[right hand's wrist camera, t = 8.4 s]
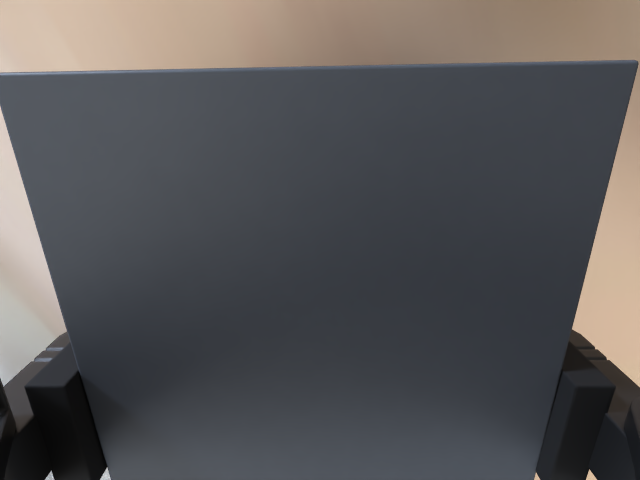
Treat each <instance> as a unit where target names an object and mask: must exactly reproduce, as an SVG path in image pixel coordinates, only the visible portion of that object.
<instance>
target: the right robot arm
mask: <svg viewBox="0 0 640 480" xmlns="http://www.w3.org/2000/svg"><path fill="white" fill-rule="evenodd" d="M106 468H107V464H106V460H105V457H104V454H103V450H102V447H101V443H100V440H99V437H98V433H97V430H96V427H95V423H94V420H93V416H92V413H91V410H90V406H89V403H88V400H87V396H86V393H85V390H84V386H83V383H82V379H81V376H80V373H79V369H78V366H77V363H76V359H75V356H74V352H73V349H72V346H71V342H70V339H69V336H68V332H66V333H64V334H62V335H60V336H59V337H58V338H57V339H56V340H55V341H53V342H52V343H51V344H50V345H49V346H48V347H47V348H46V351H42V352H41V353H40V354H39V355H38V356H37V357H36V358H35V359H34V362H30V363H29V364H28V365H27V366H26V367H25V368H24V369H23V370H22V371H20V372H19V373H18V374H17V375H16V376H15V377H14V378H13V379H12V380H11V381H9V382H8V383H7V384H6V385H5V386H4V387H3V385H2V382H1V379H0V480H45V478H46V477H47V476H48V474H49V473H50V471H51V470H52V473H53V476H54V479H55V480H100V478H101V477H102V475H103V473H104V471H105V470H106ZM589 469H590V470H591V472H592V473H593V474H594V476H595V477H596V479H597V480H640V387H639V386H637V385H636V384H635V383H634V382H633V381H632V380H631V379H630V378H629V377H627V376H626V375H625V374H624V373H623V372H622V371H621V370H620V369H619V368H618V367H616V366H615V365H614V364H613V363H612V362H611V361H610V360H607V359H606V357H605V356H604V355H603V354H602V353H601V352H600V351H599V350H595V347H594V346H593V345H592V344H591V343H590V342H589V341H588V340H586V339H585V338H584V337H583V336H582V335H581V334H579V333H577V332H576V331H574V330H571V334H570V338H569V342H568V346H567V350H566V354H565V358H564V362H563V366H562V370H561V374H560V378H559V382H558V386H557V390H556V394H555V398H554V402H553V406H552V410H551V414H550V418H549V422H548V426H547V430H546V434H545V437H544V441H543V445H542V448H541V452H540V456H539V460H538V463H537V467H536V473H537V474H538V476H539V478H540V480H586V477H587V474H588V471H589Z"/></svg>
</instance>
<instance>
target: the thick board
mask: <svg viewBox="0 0 640 480" xmlns="http://www.w3.org/2000/svg"><path fill="white" fill-rule="evenodd" d="M637 68H638V61H636V60H608V61H558V62H508V63H458V64H409V65H359V66H309V67H260V68H210V69H160V70H110V71H61V72H11V73H0V106H1V109H2V113H3V116H4V120H5V123H6V126H7V130H8V133H9V136H10V140H11V143H12V147H13V150H14V153H15V157H16V160H17V163H18V167H19V170H20V174H21V177H22V180H23V184H24V187H25V190H26V194H27V197H28V201H29V204H30V207H31V211H32V214H33V217H34V221H35V224H36V228H37V231H38V234H39V238H40V241H41V244H42V248H43V251H44V255H45V258H46V261H47V265H48V268H49V271H50V275H51V278H52V282H53V285H54V288H55V292H56V295H57V298H58V302H59V305H60V309H61V312H62V315H63V319H64V322H65V325H66V329H67V332H68V336H69V339H70V342H71V346H72V349H73V352H74V356H75V359H76V363H77V366H78V369H79V373H80V376H81V379H82V383H83V386H84V390H85V393H86V396H87V400H88V403H89V406H90V410H91V413H92V416H93V420H94V423H95V427H96V430H97V433H98V437H99V440H100V443H101V447H102V450H103V454H104V457H105V460H106V464H107V467H108V470H109V474H110V477H111V480H534V477H535V473H536V467H537V463H538V460H539V456H540V452H541V448H542V445H543V441H544V437H545V434H546V430H547V426H548V422H549V418H550V414H551V410H552V406H553V402H554V398H555V394H556V390H557V386H558V382H559V378H560V374H561V370H562V366H563V362H564V358H565V354H566V350H567V346H568V342H569V338H570V334H571V330H572V326H573V322H574V318H575V314H576V310H577V306H578V302H579V298H580V294H581V290H582V286H583V282H584V279H585V275H586V271H587V267H588V263H589V259H590V255H591V251H592V247H593V243H594V239H595V235H596V231H597V227H598V223H599V219H600V215H601V211H602V207H603V203H604V199H605V195H606V191H607V187H608V183H609V179H610V175H611V171H612V167H613V163H614V159H615V155H616V151H617V147H618V143H619V139H620V135H621V131H622V127H623V123H624V119H625V115H626V112H627V108H628V104H629V100H630V96H631V92H632V88H633V84H634V80H635V76H636V72H637Z"/></svg>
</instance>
